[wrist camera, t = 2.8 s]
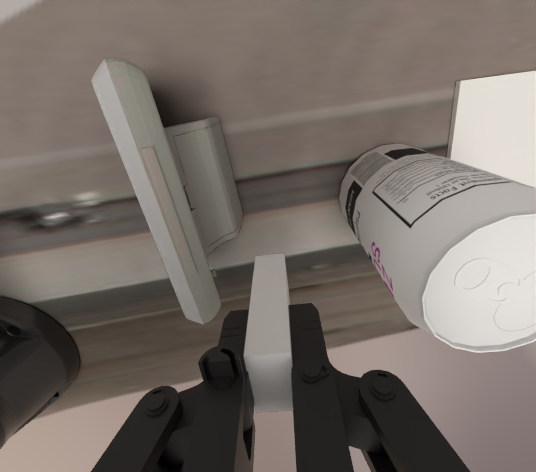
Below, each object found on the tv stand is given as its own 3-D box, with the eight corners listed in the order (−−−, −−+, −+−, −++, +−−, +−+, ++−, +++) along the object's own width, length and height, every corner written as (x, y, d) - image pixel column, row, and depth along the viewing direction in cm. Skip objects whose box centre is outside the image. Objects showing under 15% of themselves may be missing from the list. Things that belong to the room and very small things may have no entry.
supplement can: (452, 166, 25) (666, 245, 11) (397, 245, 28) (513, 381, 15) (369, 125, 24) (499, 160, 10) (321, 213, 27) (371, 329, 13)
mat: (433, 263, 29) (436, 266, 28) (456, 81, 22) (460, 80, 22) (540, 253, 28) (545, 256, 28) (596, 62, 22) (604, 61, 21)
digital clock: (120, 73, 23) (7, 54, 13) (238, 73, 22) (213, 54, 13) (154, 259, 29) (97, 337, 20) (245, 260, 29) (232, 339, 20)
